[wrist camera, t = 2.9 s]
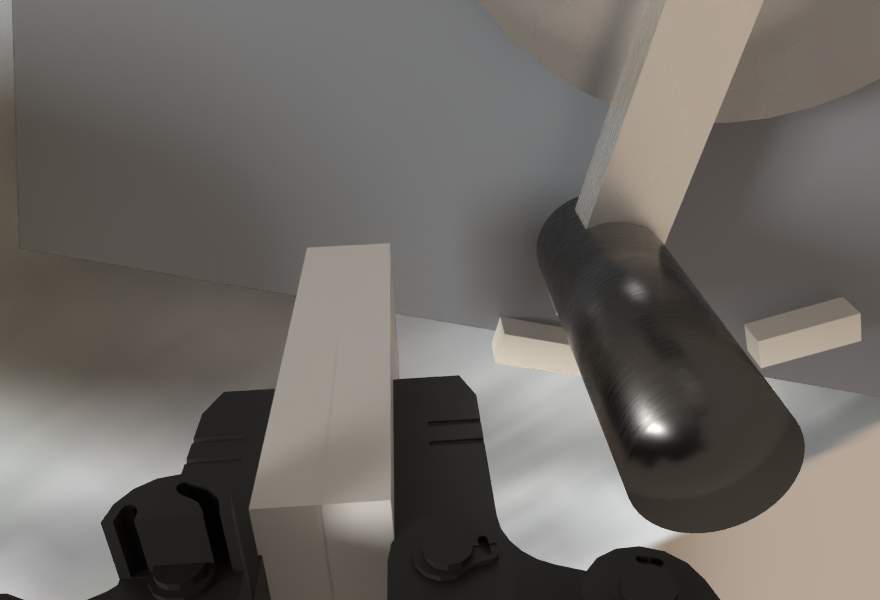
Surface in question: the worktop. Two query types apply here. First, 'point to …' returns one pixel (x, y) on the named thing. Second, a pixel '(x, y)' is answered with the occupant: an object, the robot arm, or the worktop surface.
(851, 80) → the dial
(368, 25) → the dial plate
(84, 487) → the worktop surface
